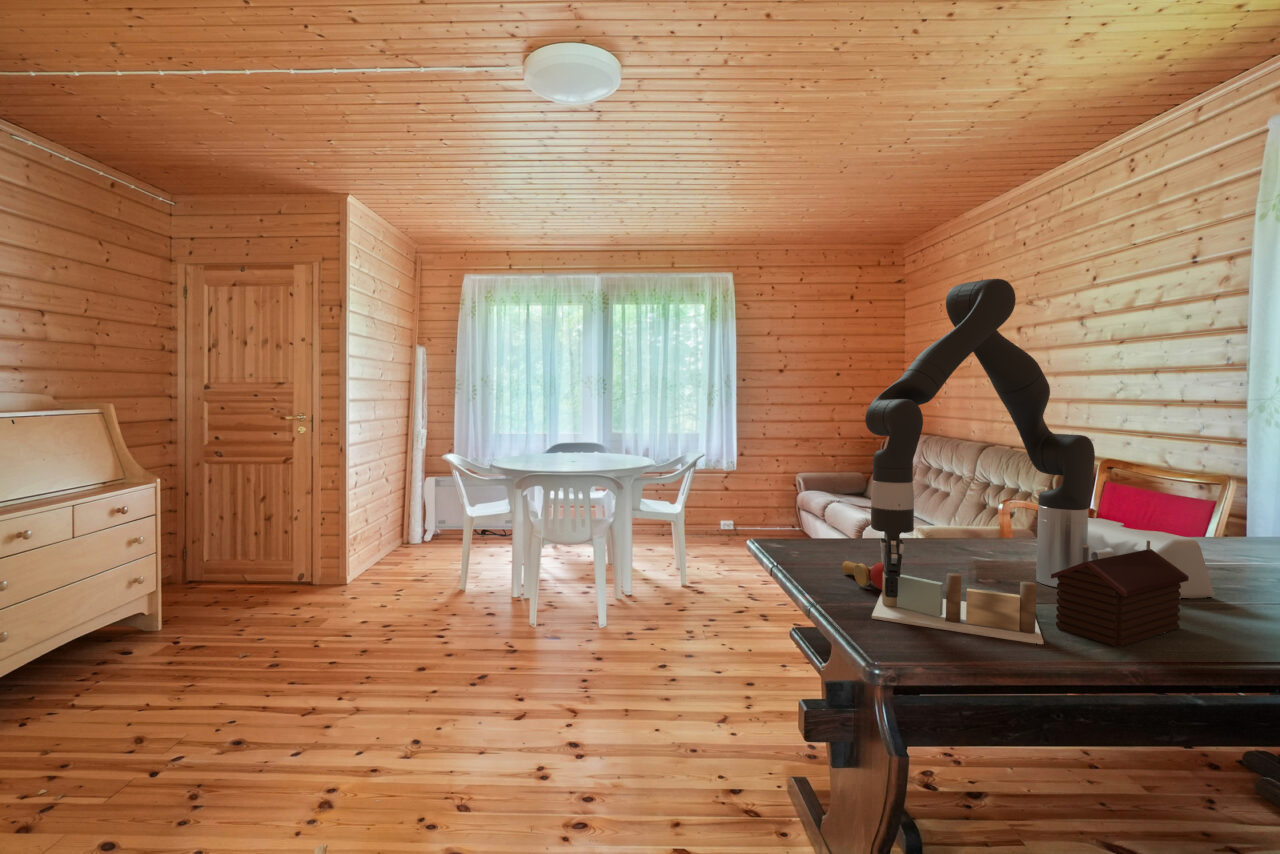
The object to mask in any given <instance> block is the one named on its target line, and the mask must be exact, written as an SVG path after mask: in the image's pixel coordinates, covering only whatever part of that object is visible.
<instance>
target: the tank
mask: <svg viewBox="0 0 1280 854" xmlns="http://www.w3.org/2000/svg"><path fill="white" fill-rule="evenodd" d="M1147 541H1150V549H1152V550H1153V551H1155V552H1156V553H1157V554H1159V555H1160V556H1162V557H1163V558H1164V559H1166V560H1167V561H1168V562H1170V563H1171V564H1173V565H1174V566H1175V567H1177V568H1178V569H1179V570H1181V571H1182V572H1184V573H1185V574H1186V575H1188V576H1189V581H1186V582H1182V583H1180V585H1181V589H1179V592H1180V593H1181V596H1180V597H1179V600H1182V599H1181V598H1190V599H1207V597H1212V598H1213V597H1214V595H1215V593H1214V590H1213V586H1212V583H1211V579H1210V576H1209V572H1208V569H1207V565H1206V562H1205V559H1204V555H1203V552H1202V548H1201V545H1200V544H1199V542H1198V541H1196V539H1194V538H1191V537H1186V536H1181V535H1177V534H1174V533H1173V534H1172V533H1169V532H1165V531H1155V530H1143V529H1135V528H1128V527H1125V524H1124V523H1122V522H1118V521H1114V520H1109V519H1105V518H1101V517H1099V518H1098V517H1095V518H1088V542H1087V544H1088V545H1089V561H1092V560H1097V559H1102V558H1107V557H1112V556H1117V555H1122V554H1127V553H1132V552H1137V551H1142V550H1146V546H1147Z"/></svg>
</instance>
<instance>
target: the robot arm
mask: <svg viewBox="0 0 1280 854" xmlns="http://www.w3.org/2000/svg"><path fill="white" fill-rule="evenodd" d="M1016 299H1017V298H1016V292H1015V289H1014V288H1013V286H1012V285H1011V283H1010V282H1008V280H1005V279H1002V278H987V279H981V280H975V281H968V282H964V283H960V284H957V285H954V286H953V287H952V288H951V289H950V290H949V291H948V293H947V295H946V298H945V309H946V313H947V316H948V318H949V320H950V322H951V324H952V325H953V326H954V328H953V329H952V330H951V331H949V332H948V333H946V334H945V335H943V336H942V337H941V338H939V339H937V340H936V341H934V342H933V343H932V344H929V346H928V347H926V348H925V349H924V350H923V351H921V352H920V353H919V354H918V355H917V356H916V358H915V359H914V360H913V361H912V362H911V364H910V365H909V366H908V367H907V368H906V370H905V371H904V373H903V374H902V375H901V377H900V378H899V379H897V380H896V381H895V382H894V383H892V384H890V386H888V387H887V388H886V389H885V390H883V391H882V392H881V393H879V395H878V396H876V397H875V398H874V399H873V401H872V402H871V403H870V404H869V406H868V407H867V409H866V412H865V415H864V416H865V418H864V421H865V426H866V428H867V430H868V431H869V432H870V433H872V434H873V435H876V436H880V437H888V439H887V440H888V441H887V443H886V447H885V448H884V449H883V448H882V449H879V450H876V451H875V452H874V455H873V457H872V459H873V460H872V484H871V492H870V527H871V529H872V530H875V531H876V532H881V533H882V532H884V534H883V538H882V537H880V540H879V546H880V549H881V550H880V551H881V554H880V557H881V559H880V561H882V563H883V568H884V570H883V573H884V575H885V595H886V597H891V598H896V597H898V578H899V577H900V575H902V573H901V568H902V566H903V552H904V551H905V542H904V541H903V539H901V537H900V535H901V534H907V533H911V532H913V531H914V528H915V523H914V522H915V519H914V518H915V511H914V510H915V491H914V483H913V482H914V480H913V479H914V458H915V455H916V453H917V452H916V451H917V448H918V445H919V442H920V438H921V436H922V435H921V434H922V433H923V432H922V431H923V426H924V417H923V416H924V415H923V413H922V409H921V408H920V405H924V404H928V403H929V402H930V401H932V400H933V399H934V397H935V396H936V395H937V394H938V393H939V392H940V390H941V388H942V387H943V386H944V384H945V383H946V382H947V380H948V379H950V376H952V374H953V373H954V372H955V370H957V368H958V367H959V366H960V365H961V364H962V363H963V362H964V361H965V360H966V359H967V358H968V357H969V356H970V355H971V354H972V353H973V354H974V355H975V357H976V359H977V360H978V363H979V364H980V365H981V366H982V368H983V370H984V371H985V374H986V375H987V376H988V380H989V381H990V383H991V385H992V386H993V388H994V390H995V392H996V394H997V396H998V397H999V399H1000V400H1001V402H1002V403H1003V405H1004V407H1005V408H1006V410H1007V412H1008V414H1009V415H1010V418H1011V419H1012V422H1013V424H1014V425H1015V428H1017V429H1016V430H1017V432H1018V433H1019V436H1020V438H1021V441H1022V443H1023V446H1024V448H1025V451H1026V453H1027V455H1028V457H1029V460H1030V462H1031V464H1032V465H1033V466H1034V468H1035V469H1036V470H1037V471H1038V472H1040V473H1042V474H1046V475H1052V476H1059V477H1060V476H1062V482H1061V484H1060V485H1059V486H1057V487H1055V488H1052V489H1046V490H1044V491H1041V492H1039V494H1038V499H1037V500H1038V504H1037V505H1038V506H1037V535H1036V537H1037V539H1036V570H1035V574H1036V575H1035V579H1036V582H1038V583H1040V584H1043V585H1045V586H1049V587H1053V588H1058V587H1057V584H1058V583H1059V581H1058V579H1057V578H1052V579H1051V574H1053V573H1056V572H1059V571H1062V570H1064V569H1067V568H1070V567H1073V566H1075V565H1078V564H1081V563H1084V562H1087V561H1089V545H1088V544H1087V542H1088V519H1089V507H1090V500H1091V496H1092V493H1093V492H1092V491H1093V482H1094V481H1093V480H1094V470H1095V461H1096V457H1095V455H1096V454H1095V453H1096V452H1095V447H1094V443H1093V441H1092V440H1091V439H1090V438H1089V436H1086V435H1082V434H1068V433H1067V434H1065V433H1054V432H1052V431H1051V430H1050V429H1049V427H1048V426H1047V423H1046V421H1045V419H1044V414H1045V411H1046V409H1047V406H1048V403H1049V400H1050V395H1051V387H1050V384H1049V381H1048V380H1047V377H1046V376H1045V373H1044V372H1043V370H1042V368H1041V365H1039V363H1038V362H1037V360H1036V359H1035V358H1034V357H1032V356H1031V355H1030V354H1029V353H1028V352H1026V351H1025V349H1022V348H1021V347H1019V346H1018V345H1016V344H1015V343H1013V341H1010V340H1009V339H1008V338H1006V337H1005V336H1004V335H1002V333H1001V332H1000V331H998V329H999V328H1000V327H1001V326H1003V324H1005V322H1007V320H1008V319H1009V318H1010V317H1011V315H1012V314H1013V312H1014V310H1015V306H1016Z"/></svg>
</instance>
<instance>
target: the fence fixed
mask: <svg viewBox="0 0 1280 854" xmlns="http://www.w3.org/2000/svg"><path fill="white" fill-rule="evenodd" d="M945 587H946V588H945V589H946V591H945V599H946V620H947V621H950V622H960V618H961V601H962V575H961V574H960V573H954V572H947V573H946V586H945ZM1037 587H1038V586H1037V583H1035V582H1032V581H1026V580H1025V581H1020V582H1019V594H1015V593H1007V592H1006V593H1005V592H999V591H998V592H997V591H990V590H983V589H974V588H966V601H965V602H966V623H968V624H975V625H982V626H988V627H995V628H1002V629H1009V630H1016V631H1019V630H1020V631H1021V632H1025V633H1030V634H1034V633H1035V623H1036V621H1037V618H1036V615H1037V614H1036V613H1037V612H1036V611H1037Z"/></svg>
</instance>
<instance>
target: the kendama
mask: <svg viewBox="0 0 1280 854" xmlns="http://www.w3.org/2000/svg"><path fill="white" fill-rule="evenodd" d="M883 570H884V568H883V563H882V560H879V561H878V562H877V563H875V564H874V565H872V566H867V565H865V564H864V563H860V562H859V563H855V562H851V561H849V560H845V561H844V562H843V563H842V564H841V571H842V572H843V574H845V575H853V576H854V579H855V581H856V582H857V584H858V585H859V586H861V587H866V586H869V585H870V583H872V585H874V586H875V588H876V589H878V590H881V591H883Z"/></svg>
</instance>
